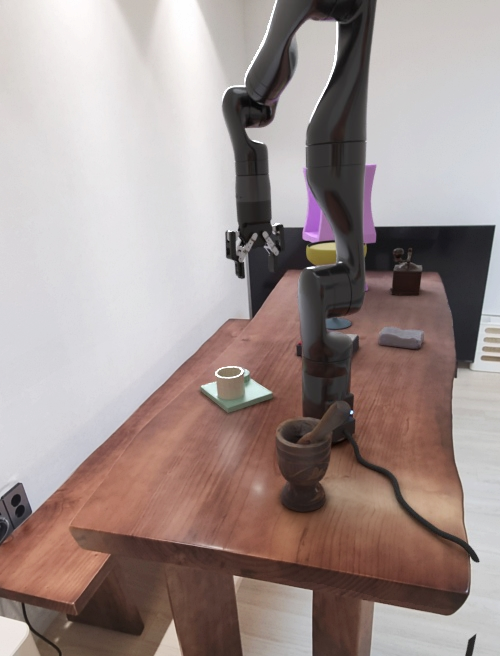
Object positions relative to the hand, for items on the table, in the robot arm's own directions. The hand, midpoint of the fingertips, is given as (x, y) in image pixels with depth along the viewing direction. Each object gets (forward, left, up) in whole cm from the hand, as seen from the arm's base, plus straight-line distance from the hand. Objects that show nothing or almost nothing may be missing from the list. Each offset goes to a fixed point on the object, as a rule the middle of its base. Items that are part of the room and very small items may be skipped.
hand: (257, 275), depth 107 cm
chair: (+55, -72, -26) cm, 94 cm away
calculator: (+3, -24, -26) cm, 36 cm away
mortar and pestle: (-45, +19, -26) cm, 55 cm away
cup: (-5, +12, -25) cm, 28 cm away
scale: (-4, +10, -26) cm, 28 cm away
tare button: (+1, +7, -23) cm, 24 cm away
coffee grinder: (+30, -84, -26) cm, 93 cm away
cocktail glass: (+20, -41, -26) cm, 53 cm away
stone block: (-5, -45, -26) cm, 52 cm away
